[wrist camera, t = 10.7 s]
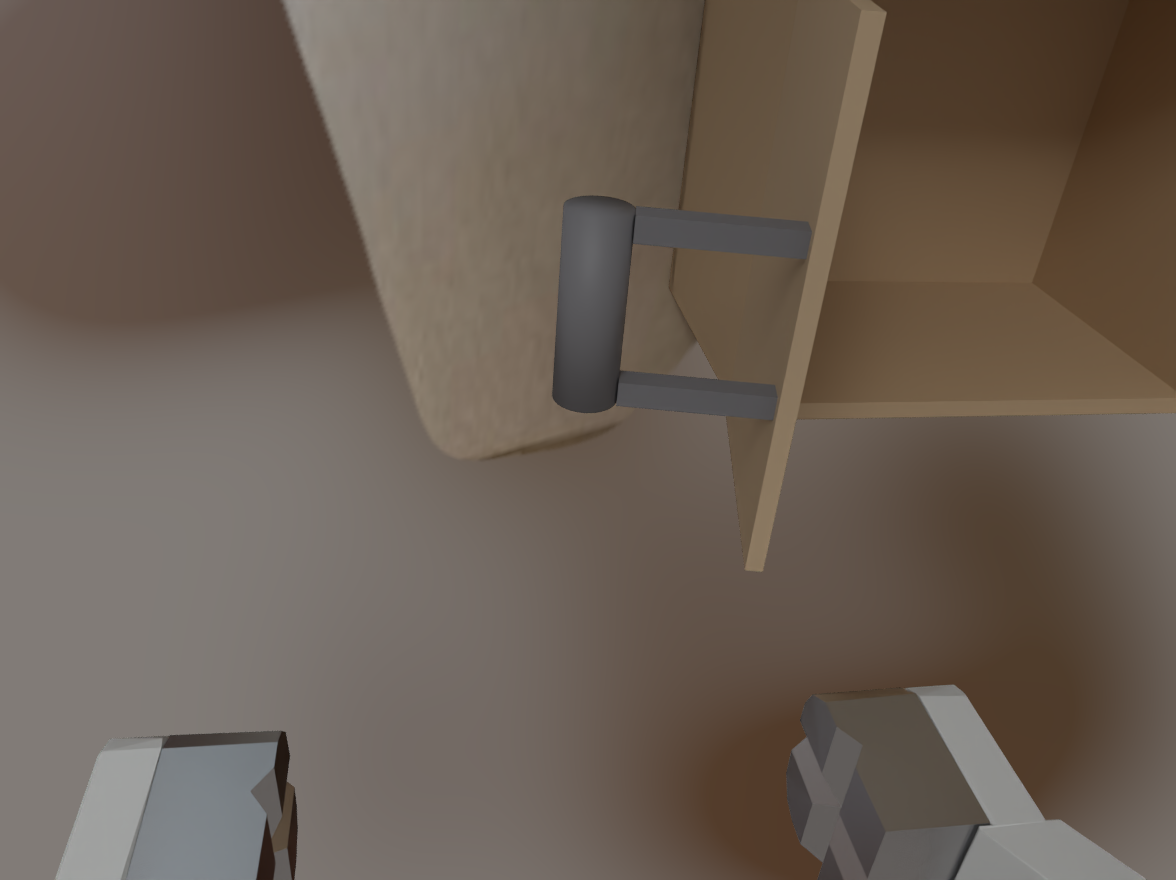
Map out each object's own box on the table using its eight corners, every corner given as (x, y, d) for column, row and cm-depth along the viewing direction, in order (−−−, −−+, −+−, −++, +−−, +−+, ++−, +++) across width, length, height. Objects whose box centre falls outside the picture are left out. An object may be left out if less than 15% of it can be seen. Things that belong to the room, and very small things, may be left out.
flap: (822, -36, 31) (597, -55, 31) (888, 13, 22) (573, -14, 22) (739, 415, 40) (565, 399, 40) (763, 575, 32) (540, 554, 32)
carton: (715, -85, 43) (827, -50, 31) (1151, -53, 46) (1396, -11, 35) (668, 287, 52) (740, 420, 41) (1032, 289, 56) (1193, 412, 44)
